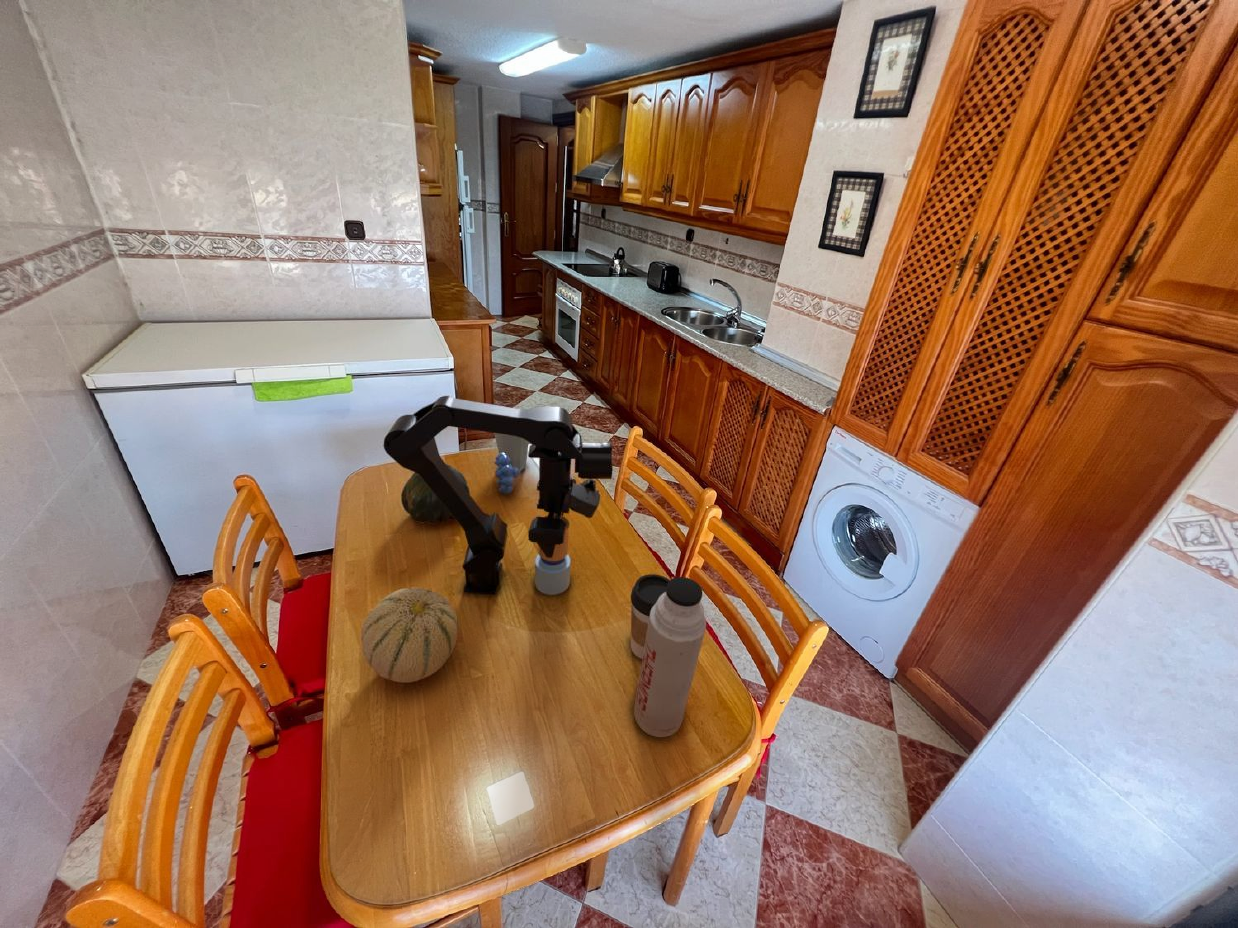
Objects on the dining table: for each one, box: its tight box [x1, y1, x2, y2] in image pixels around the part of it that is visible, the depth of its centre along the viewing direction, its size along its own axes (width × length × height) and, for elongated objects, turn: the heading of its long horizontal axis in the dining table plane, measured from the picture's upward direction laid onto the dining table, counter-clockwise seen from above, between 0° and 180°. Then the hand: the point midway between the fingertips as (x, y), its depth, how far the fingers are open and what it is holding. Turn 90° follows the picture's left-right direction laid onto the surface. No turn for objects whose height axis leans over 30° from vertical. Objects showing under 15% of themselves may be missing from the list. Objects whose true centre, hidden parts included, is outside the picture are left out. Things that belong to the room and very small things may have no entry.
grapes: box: [494, 452, 522, 495], centre depth 128 cm, size 12×7×12 cm, turn 23°
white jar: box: [534, 553, 572, 596], centre depth 102 cm, size 7×7×8 cm
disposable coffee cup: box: [493, 433, 530, 472], centre depth 138 cm, size 11×11×15 cm
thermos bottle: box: [633, 576, 707, 738], centre depth 74 cm, size 8×8×28 cm
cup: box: [537, 514, 571, 561], centre depth 98 cm, size 6×6×7 cm
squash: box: [400, 463, 471, 525], centre depth 117 cm, size 14×15×15 cm
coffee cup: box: [630, 573, 671, 660], centre depth 88 cm, size 8×8×15 cm
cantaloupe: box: [360, 586, 459, 683], centre depth 81 cm, size 15×15×15 cm
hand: (553, 541), depth 99 cm, fingers open, 9 cm apart
